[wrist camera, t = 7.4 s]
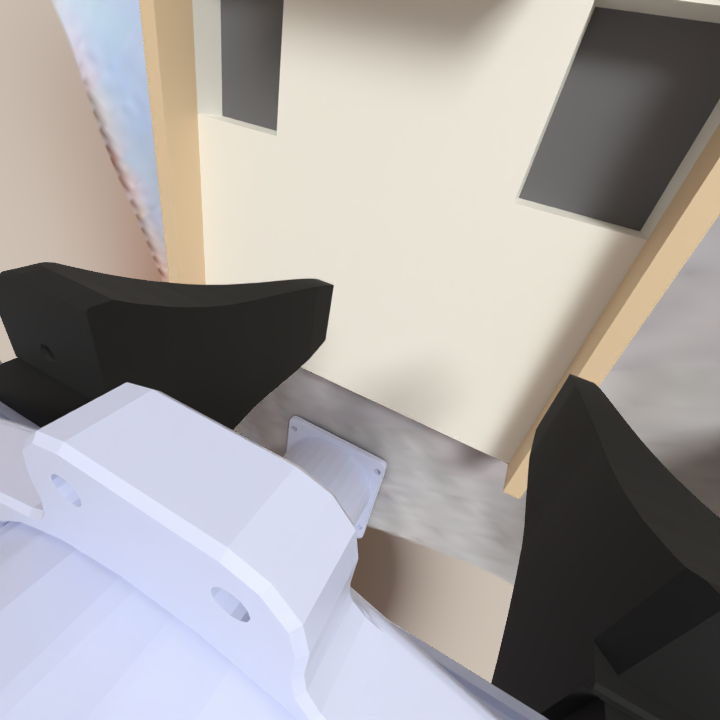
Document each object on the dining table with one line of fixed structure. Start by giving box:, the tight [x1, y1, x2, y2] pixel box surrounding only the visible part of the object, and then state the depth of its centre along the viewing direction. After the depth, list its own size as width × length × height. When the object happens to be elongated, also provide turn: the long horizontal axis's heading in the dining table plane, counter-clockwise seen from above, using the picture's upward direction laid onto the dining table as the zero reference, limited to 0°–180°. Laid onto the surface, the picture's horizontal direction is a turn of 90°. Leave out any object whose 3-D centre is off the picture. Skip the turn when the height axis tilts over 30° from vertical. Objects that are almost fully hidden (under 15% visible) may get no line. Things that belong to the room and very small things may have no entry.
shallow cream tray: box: [139, 0, 720, 499], centre depth 16 cm, size 24×22×4 cm
